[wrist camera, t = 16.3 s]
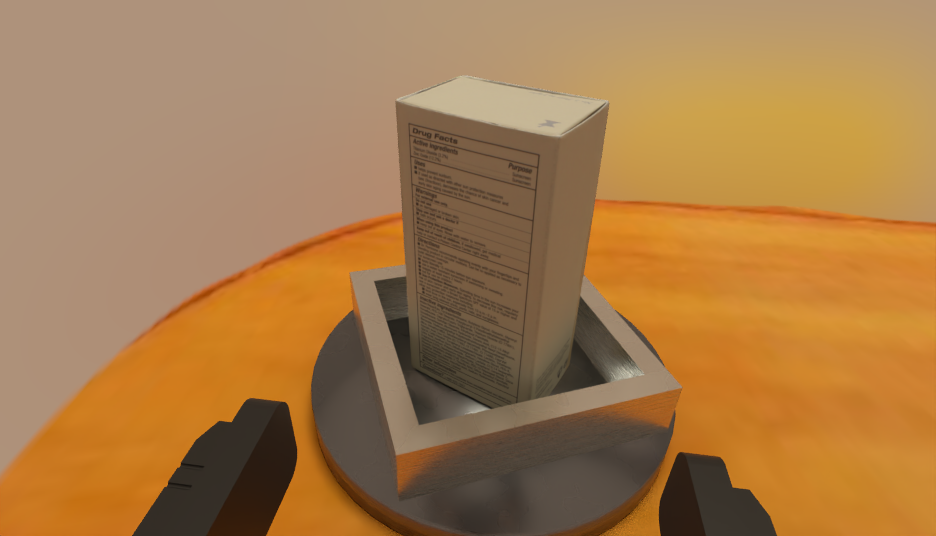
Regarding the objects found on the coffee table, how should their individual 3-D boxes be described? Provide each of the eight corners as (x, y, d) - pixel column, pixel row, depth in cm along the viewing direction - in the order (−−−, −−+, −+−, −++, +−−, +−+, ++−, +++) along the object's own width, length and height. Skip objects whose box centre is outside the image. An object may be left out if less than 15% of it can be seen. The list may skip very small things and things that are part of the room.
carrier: (567, 273, 34) (576, 216, 32) (749, 491, 22) (785, 423, 20) (302, 315, 30) (292, 252, 28) (338, 619, 17) (325, 549, 15)
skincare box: (571, 367, 25) (621, 101, 18) (525, 431, 22) (566, 137, 15) (456, 317, 28) (465, 70, 21) (401, 367, 25) (390, 95, 18)
